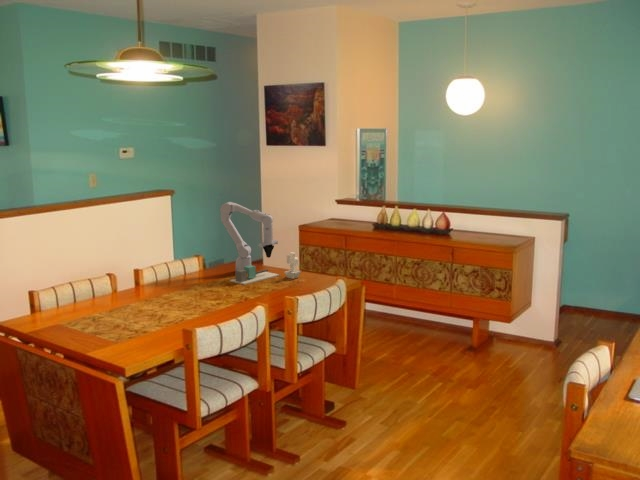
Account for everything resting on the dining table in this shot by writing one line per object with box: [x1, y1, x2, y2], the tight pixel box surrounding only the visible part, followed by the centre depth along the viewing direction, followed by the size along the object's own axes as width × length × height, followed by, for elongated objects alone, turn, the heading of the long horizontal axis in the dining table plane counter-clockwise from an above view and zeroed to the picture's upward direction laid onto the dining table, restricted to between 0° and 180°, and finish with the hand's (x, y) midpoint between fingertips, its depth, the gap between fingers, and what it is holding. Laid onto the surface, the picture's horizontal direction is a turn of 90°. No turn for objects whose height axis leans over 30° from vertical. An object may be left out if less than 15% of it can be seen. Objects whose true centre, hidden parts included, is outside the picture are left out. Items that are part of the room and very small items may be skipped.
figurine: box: [284, 251, 302, 280], centre depth 373 cm, size 7×9×15 cm
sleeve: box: [244, 264, 257, 279], centre depth 368 cm, size 4×5×6 cm
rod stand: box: [229, 268, 280, 286], centre depth 371 cm, size 12×28×7 cm, turn 139°
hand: (268, 257), depth 385 cm, fingers closed
